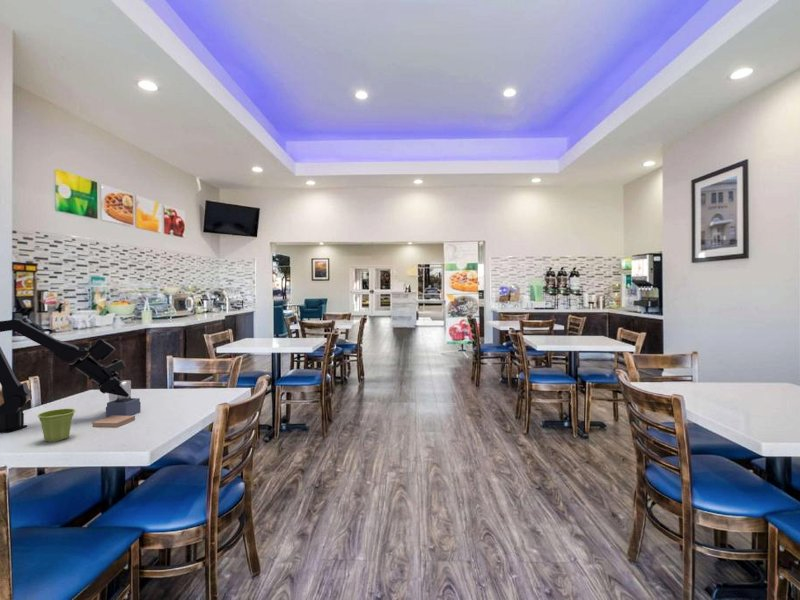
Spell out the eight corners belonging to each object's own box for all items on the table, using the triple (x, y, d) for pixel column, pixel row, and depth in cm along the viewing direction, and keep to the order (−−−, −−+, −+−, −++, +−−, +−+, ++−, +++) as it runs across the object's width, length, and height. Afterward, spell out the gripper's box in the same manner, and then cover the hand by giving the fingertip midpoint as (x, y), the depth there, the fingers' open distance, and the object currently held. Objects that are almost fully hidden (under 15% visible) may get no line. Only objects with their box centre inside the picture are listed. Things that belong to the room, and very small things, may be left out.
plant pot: (73, 440, 131) (73, 413, 131) (34, 446, 126) (34, 418, 126) (77, 432, 139) (77, 407, 139) (41, 437, 134) (40, 411, 134)
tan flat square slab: (116, 427, 144) (116, 423, 144) (92, 426, 145) (92, 422, 145) (135, 419, 153) (134, 415, 153) (112, 419, 154) (112, 415, 154)
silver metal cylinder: (125, 406, 158) (124, 382, 157) (113, 405, 158) (113, 382, 158) (133, 402, 162) (133, 380, 162) (122, 402, 163) (122, 380, 163)
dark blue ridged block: (125, 417, 156) (125, 403, 156) (106, 417, 156) (106, 402, 156) (140, 411, 164) (140, 398, 164) (121, 411, 164) (121, 397, 164)
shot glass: (116, 409, 167) (115, 392, 167) (104, 408, 170) (104, 391, 170) (131, 405, 174) (131, 388, 174) (120, 403, 176) (120, 387, 176)
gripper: (110, 356, 150) (146, 382, 156) (111, 351, 165) (143, 375, 172) (83, 380, 146) (121, 406, 152) (87, 372, 161) (121, 396, 167)
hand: (127, 394), depth 161 cm, fingers closed on silver metal cylinder, 5 cm apart
